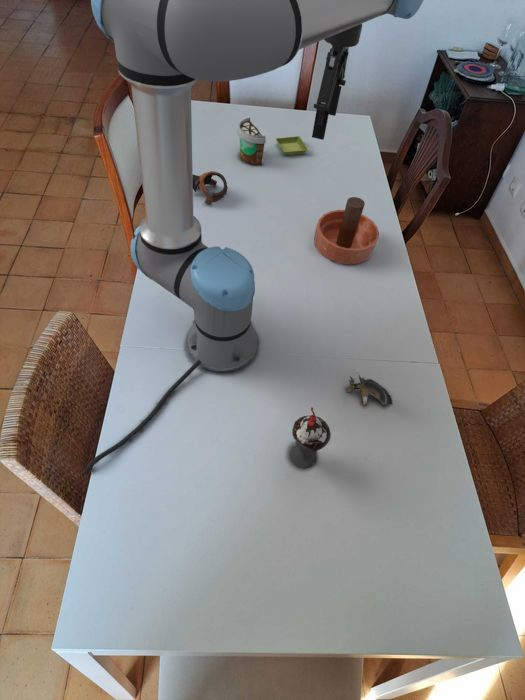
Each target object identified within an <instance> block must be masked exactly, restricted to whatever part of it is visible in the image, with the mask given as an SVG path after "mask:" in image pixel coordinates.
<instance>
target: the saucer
mask: <svg viewBox="0 0 525 700" xmlns="http://www.w3.org/2000/svg"><path fill="white" fill-rule="evenodd" d="M275 141H276V144H277V145H278V146H279V148H280V149H281V151H282V153H283V155H285V156H294V155H295V156H297V155H302V154H305V153H307V152H308V151H309V148H308V147H307V145H306V144H305V142H304V140H303V139H302V138H301V136H299V135H298V136H297V135H296V136H288V137H287V136H285V137H276V138H275Z"/></svg>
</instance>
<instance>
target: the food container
mask: <svg viewBox="0 0 525 700" xmlns="http://www.w3.org/2000/svg"><path fill="white" fill-rule="evenodd" d="M236 134H237V136H238V137H239V158H240V160H241V161H242V162H243V163H245V164H247V165H249V166H262V165H263V159H264V158H263V157H264V149H265V144H266V142H267V141H266V140H267V139H266V135H262V133H261V132H260V131H259V128H258V127H257V126H255V125H254V124H253V123H252V121H251V117H246V118H243V119H241V120H240V122H239V124H238V127H237V133H236Z"/></svg>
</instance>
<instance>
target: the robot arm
mask: <svg viewBox="0 0 525 700" xmlns="http://www.w3.org/2000/svg"><path fill="white" fill-rule="evenodd" d="M423 3H424V0H90V5H91V10H92V14H93V17H94V18H93V19H94V20H95V22H96V24H97V26H98V28H99V29H100V30H101V31H102V33H103V34H104V36H105V37H107V39H108V40H110V41H111V42H113V43H114V49H115V58H116V65H117V71H118V74H119V75H120V76H121V77H122V78H123V79H124V80H125V81H126V82H128V83H129V85H130V87H131V95H132V105H133V112H134V113H133V114H134V122H135V128H136V129H135V130H136V131H135V132H136V139H137V148H138V157H139V166H140V175H141V184H142V192H143V193H142V194H143V202H144V209H145V211H144V212H145V217H143V219H141V221H140V223H139V225H138V226H137V228H136V229H135V231H134V232H133V235H134V237H133V238H131V241H130V249H129V250H130V256H131V260H132V263H133V264H134V265H135V267H136V268H137V269H138V270H139V271H140V272H141V273H142V274H143V275H144V276H145V277H147V278H148V279H149V280H152V281H153V282H154V283H156V284H157V285H159V286H160V287H162V288H163V289H165V290H166V291H167V292H169V293H170V294H171V295H173V296H175V297H176V298H177V299H179V300H180V301H182V302H183V303H185V304H186V305H187V306H189V307H190V308H191V309H192V310H193V317H194V319H193V322H192V324H191V326H190V328H189V331H188V333H187V341H186V342H187V350H188V353H189V355H190V357H191V359H192V360H193V361H194V363H193V364H192V365H191V367H189V369H187V370H186V371H185V372H184V373H183V374H182V375H181V376H180V378H178V379H177V380H176V382H174V383H173V384H172V386H171V387H170V388H168V390H167V391H166V392H165V394H164V395H163V396H162V397H161V399H160V400H159V401H158V403H157V405H155V407H154V408H153V410H151V412H150V413H148V415H147V416H146V417H145V418H144V419H143V420H142V421H141V422H140V423H139V424H138V425H137V426H136V427H135V428H134V429H133V430H132V431H130V432H129V433H128V434H127V435H125V436H124V437H123V438H122V439H121V440H119V441H118V442H117V443H116V444H114V445H112V446H110V447H109V448H108V449H106V450H104V451H103V452H100V453H99V454H98V455H97V456H95V457H93V459H91V460H90V462H89V463H88V464H87V465H86V467H85V468H84V470H83V472H82V474H83V475H84V476H85V475H88V474H89V472H90V471H91V469H92V468H93V467H94V466H95V465H96V464H97V463H98V462H99V461H101V460H102V459H103V458H105V457H107V456H109V455H110V454H112V453H113V452H115V451H116V450H118V449H120V448H121V447H123V445H125V444H126V443H128V442H129V441H130V440H131V439H132V438H133V437H134V436H136V434H138V433H139V432H140V431H141V430H142V429H144V427H145V426H146V425H147V424H148V423H149V422H150V421H151V420H152V419H153V418H154V417H155V416H156V414H157V413H158V412H159V410H160V409H161V408H162V406H163V405H164V403H165V402H166V401H167V399H168V398H169V397H170V396H171V395H172V393H173V392H174V391H175V390H176V389H178V387H179V386H180V385H181V384H182V383H183V382H184V381H185V380H186V379H187V378H188V377H189V376H190V375H191V374H192V373H193V372H194V371H195V370H196V368H198V367H201V368H202V369H205V370H207V371H210V372H214V373H232V372H235V371H238V370H240V369H243V368H244V367H246V366H247V365H248V364H249V363H250V362H251V361H252V360H253V359H254V357H255V355H256V353H257V349H258V336H257V331H256V329H255V327H254V324H253V322H252V317H253V315H252V314H253V304H254V297H255V293H256V283H255V272H254V269H253V266H252V264H251V263H250V261H249V260H248V258H246V257H245V256H244V255H243V254H242V253H240V251H238V250H236V249H233V248H230V247H226V246H225V247H224V248H221V247H220V246H210V247H209V246H207V245H206V244H204V243H203V240H202V239H203V238H202V235H203V234H202V225H201V222H200V220H199V219H198V218H197V217H195V216H194V190H193V175H194V173H193V125H192V124H193V122H192V121H193V120H192V86H194V85H195V84H196V83H197V82H198V81H202V82H214V83H220V82H221V83H222V82H223V83H224V82H232V81H239V80H244V79H249V78H253V77H257V76H260V75H264V74H266V73H269V72H272V71H275V70H277V69H279V68H282V67H284V66H286V65H288V64H289V63H291V62H292V61H293V60H294V59H295V57H296V56H297V55H298V52H299V50H301V49H304V48H307V47H309V46H312V45H313V44H316V43H319V42H321V41H324V42H326V43H327V44H330V45H331V48H330V49H329V51H328V52H327V54H326V57H325V59H326V60H325V65H324V71H323V75H322V79H321V83H320V86H319V87H320V88H319V92H318V96H317V100H316V103H313V108H314V109H315V110H316V111H315V116H314V123H313V127H312V133H311V138H314V139H317V140H322V141H323V140H324V139H325V135H326V131H327V125H328V119H329V116H333V117H335V116H336V115H337V110H338V105H339V101H340V97H341V91H342V86H343V87H345V86H346V82H347V81H346V80H345V77H346V69H347V68H346V67H347V61H348V57H349V53H350V52H349V49H350V48H353V47H356V46H357V45H358V44H359V42H360V38H361V34H362V30H363V24H364V23H367V22H369V21H371V20H374V19H376V18H378V17H381V16H385V15H391V16H393V17H394V18H395V19H396V18H398V19H402V20H403V19H404V20H409V19H411V18H413V17H414V16H415V15H416V14H417V13H418V11H419V9H420V8H421V6H422V5H423Z"/></svg>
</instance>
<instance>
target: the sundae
mask: <svg viewBox="0 0 525 700" xmlns="http://www.w3.org/2000/svg"><path fill="white" fill-rule="evenodd" d="M310 411H311V412H312V414H310V415H303V416H301V417H299V418H297V419H296V420H295V421H294V424H293V426H292V431H291V433H292V437H293V439H294V440H295V445H294V446H293V447H292V448H291V449H290V452H289V457H290V461H291V462H292V463H293V464H294V465H295V466H296V467H298V468H302V469H306V468H307V469H308V468H310V467H311V466H313V465H314V463H315V461H316V459H317V455H316V452H317V451H320V450H322V449H323V448H325V447H326V446H327V445H328V444H329V442H330V440H331V437H332V432H331V429H330V427H329V424H328V423H327V422H326V421H325V420H324V419H323V418H321V417H320V416H317V415H315V412H314V407H313V406H311V408H310Z"/></svg>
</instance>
